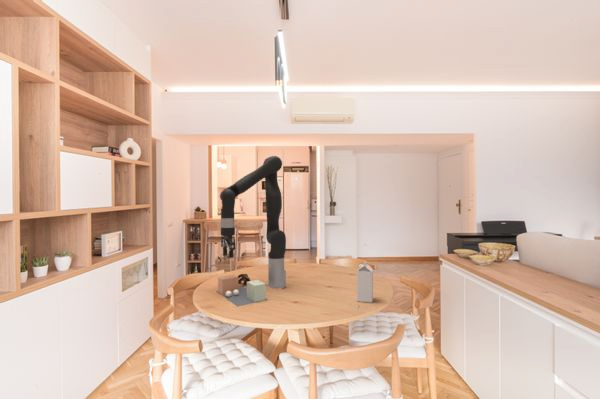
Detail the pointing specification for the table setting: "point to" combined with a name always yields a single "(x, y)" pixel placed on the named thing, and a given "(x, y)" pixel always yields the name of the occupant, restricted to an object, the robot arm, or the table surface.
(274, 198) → the robot arm
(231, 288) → the upright salmon pillar
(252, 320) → the table surface
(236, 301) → the slate mat
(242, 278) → the brown sculpted ring
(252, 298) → the pale green cuboid
